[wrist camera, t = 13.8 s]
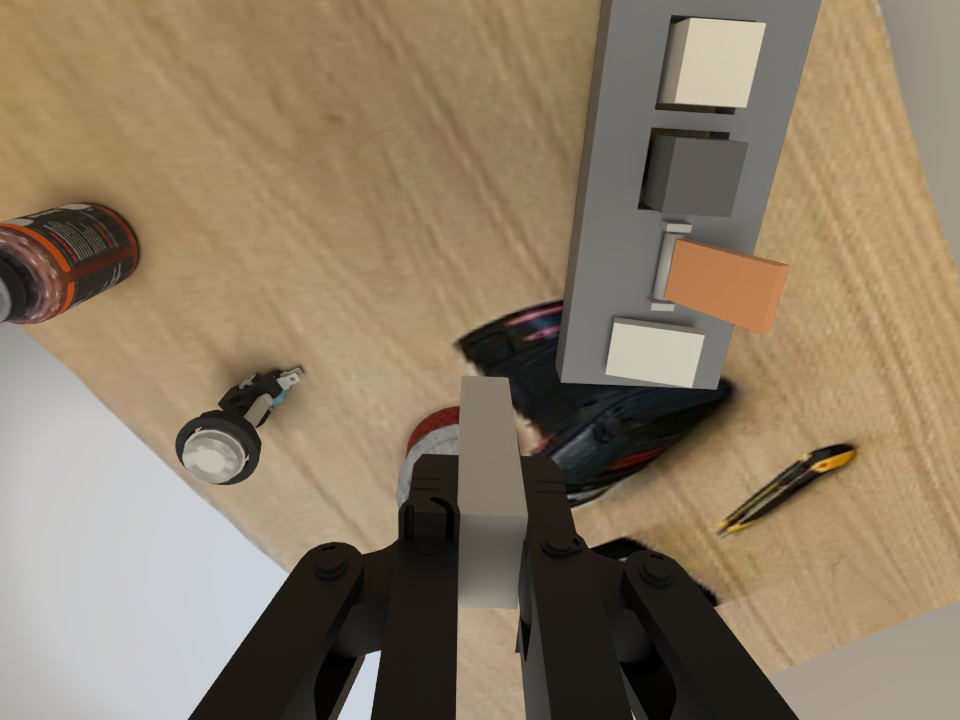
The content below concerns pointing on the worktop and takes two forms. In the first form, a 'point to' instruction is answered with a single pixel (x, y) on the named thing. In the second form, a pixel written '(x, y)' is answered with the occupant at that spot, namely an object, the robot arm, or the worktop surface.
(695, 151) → the dark gray button
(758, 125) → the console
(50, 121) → the worktop surface
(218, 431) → the push button
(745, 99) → the ivory button
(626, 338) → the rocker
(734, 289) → the paddle lever
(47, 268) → the supplement bottle
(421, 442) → the canned food
